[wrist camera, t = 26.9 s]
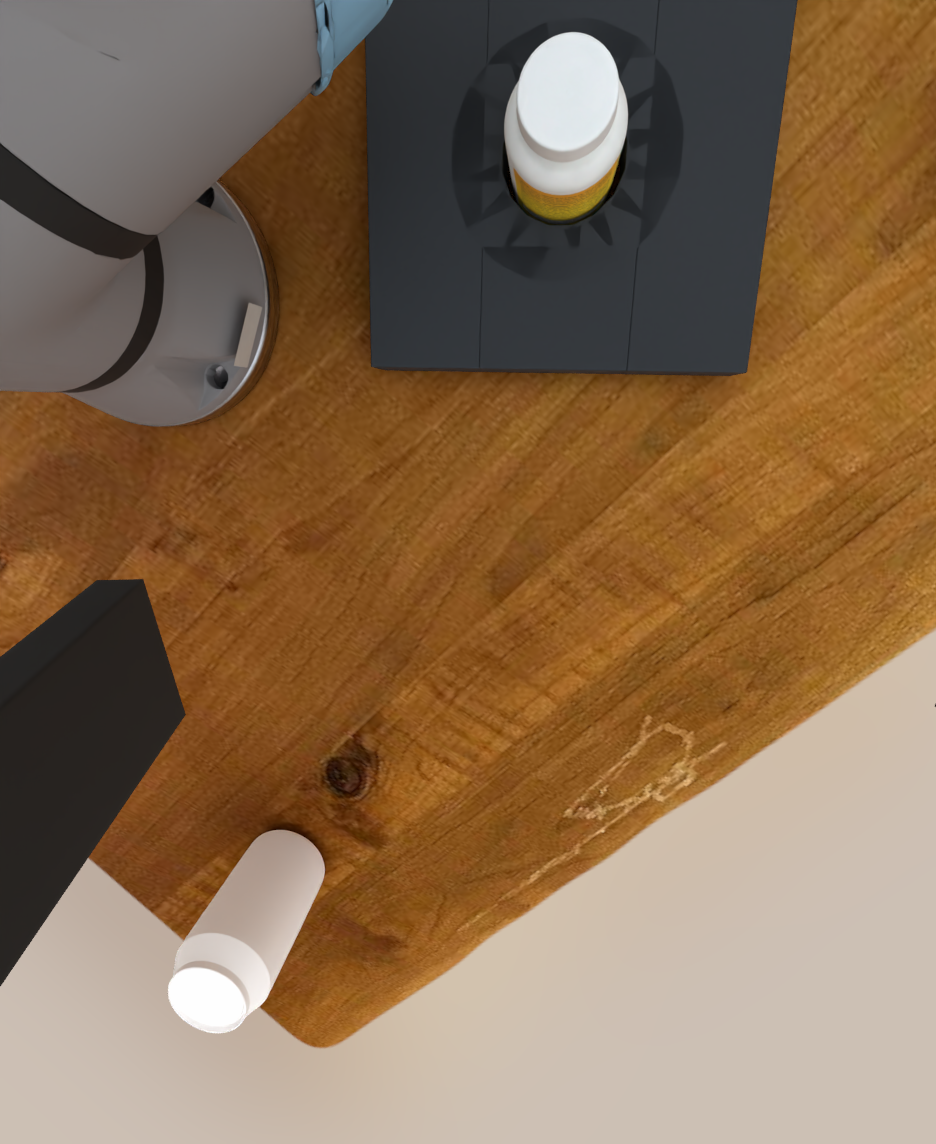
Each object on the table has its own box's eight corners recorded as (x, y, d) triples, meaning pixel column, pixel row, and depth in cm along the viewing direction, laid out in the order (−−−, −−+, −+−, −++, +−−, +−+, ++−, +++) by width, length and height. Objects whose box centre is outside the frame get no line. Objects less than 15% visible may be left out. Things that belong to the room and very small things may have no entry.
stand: (385, 370, 37) (370, 366, 34) (379, -36, 31) (362, -81, 29) (730, 375, 34) (747, 372, 31) (787, -64, 29) (813, -117, 26)
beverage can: (237, 850, 48) (137, 990, 36) (287, 808, 46) (199, 941, 34) (293, 903, 48) (212, 1057, 37) (345, 863, 47) (277, 1012, 35)
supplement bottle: (498, 151, 33) (477, 51, 24) (593, 102, 32) (610, -24, 23) (533, 251, 34) (526, 193, 25) (626, 207, 33) (655, 129, 24)
